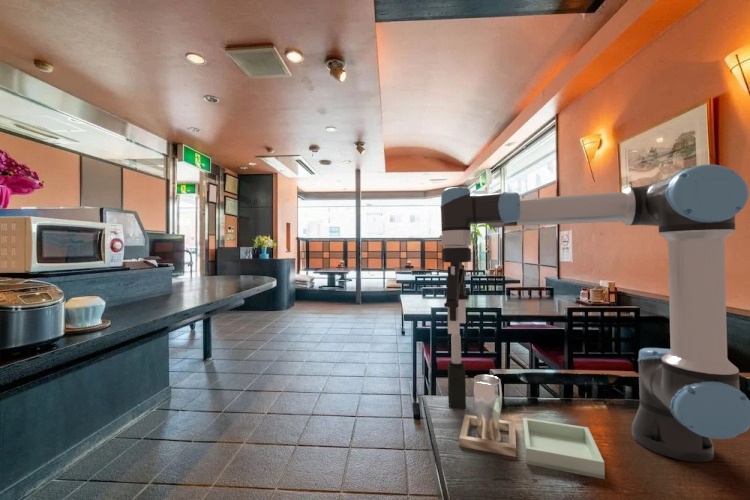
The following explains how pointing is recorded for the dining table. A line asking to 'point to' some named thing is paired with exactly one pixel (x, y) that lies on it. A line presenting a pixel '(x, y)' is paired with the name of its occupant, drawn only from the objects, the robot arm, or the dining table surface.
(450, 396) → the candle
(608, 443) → the dining table surface
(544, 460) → the tray
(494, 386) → the beer glass
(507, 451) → the light wood square frame
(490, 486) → the dining table surface
